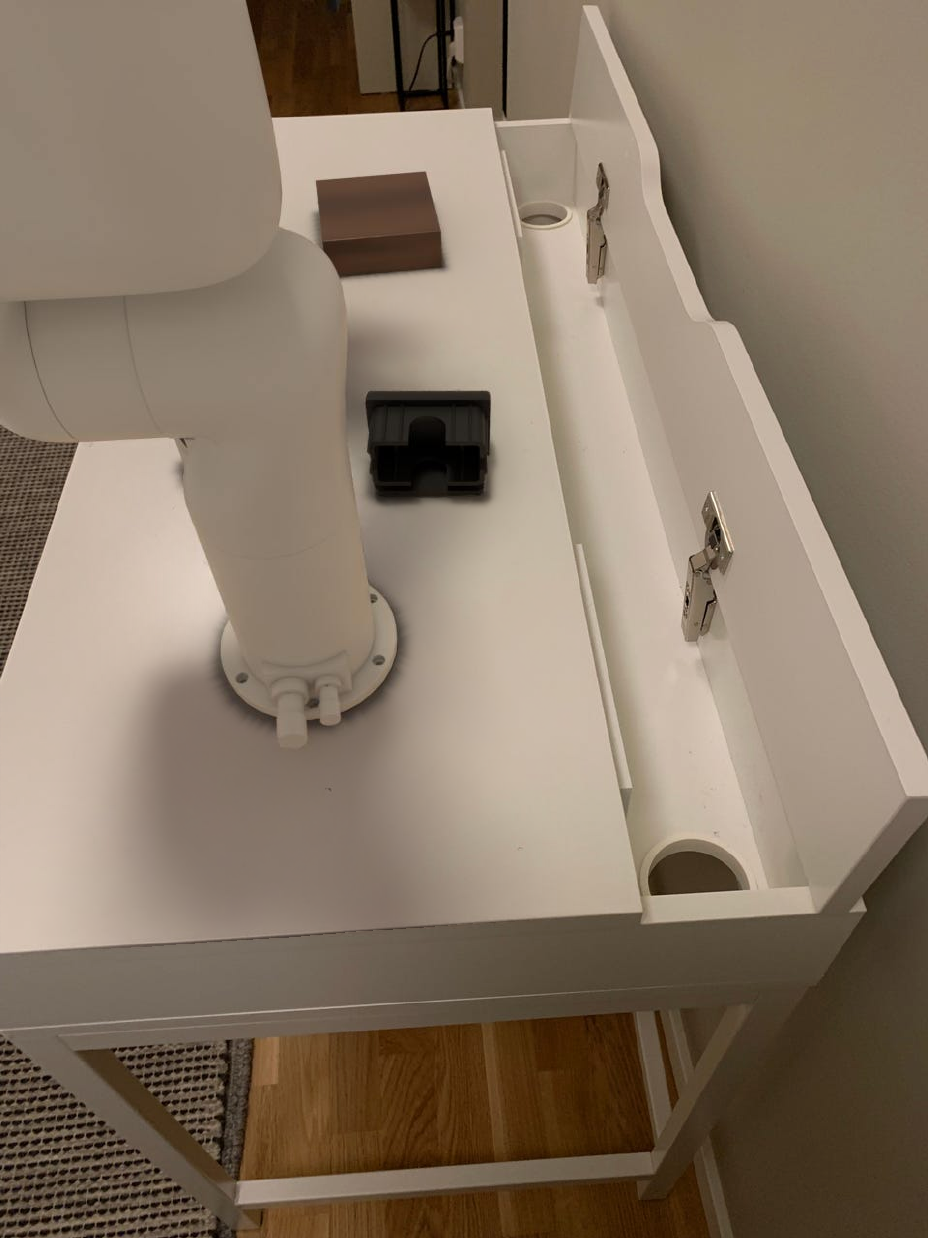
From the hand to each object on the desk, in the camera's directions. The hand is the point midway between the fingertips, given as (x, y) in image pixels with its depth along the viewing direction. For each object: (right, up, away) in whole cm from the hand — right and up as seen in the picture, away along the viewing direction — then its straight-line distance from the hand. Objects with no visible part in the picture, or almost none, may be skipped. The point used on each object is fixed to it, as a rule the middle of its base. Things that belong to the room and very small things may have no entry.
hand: (269, 5), depth 64 cm
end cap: (+11, -32, +11) cm, 35 cm away
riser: (+5, -4, +31) cm, 32 cm away
